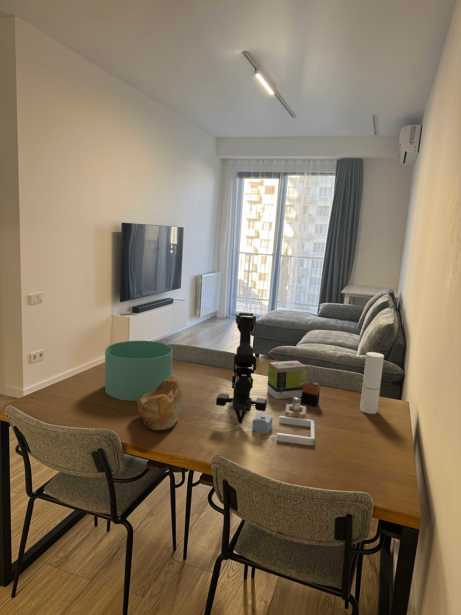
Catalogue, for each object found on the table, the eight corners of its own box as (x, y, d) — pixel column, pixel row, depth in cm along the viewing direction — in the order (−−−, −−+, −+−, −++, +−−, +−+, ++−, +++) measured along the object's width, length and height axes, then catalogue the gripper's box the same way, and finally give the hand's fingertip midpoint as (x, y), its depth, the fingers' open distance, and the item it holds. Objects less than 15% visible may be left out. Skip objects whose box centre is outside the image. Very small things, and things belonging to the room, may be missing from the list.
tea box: (295, 389, 203) (297, 359, 200) (305, 397, 193) (308, 366, 191) (266, 391, 198) (268, 361, 195) (275, 399, 188) (277, 368, 186)
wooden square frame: (284, 421, 167) (285, 411, 167) (285, 413, 175) (286, 403, 174) (305, 423, 166) (305, 414, 165) (305, 415, 174) (305, 406, 173)
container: (184, 387, 197) (186, 348, 194) (139, 407, 173) (140, 363, 169) (138, 373, 213) (139, 337, 210) (90, 389, 188) (90, 349, 185)
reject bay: (276, 440, 151) (277, 434, 151) (279, 421, 167) (279, 415, 166) (313, 445, 149) (314, 439, 148) (313, 426, 164) (313, 420, 164)
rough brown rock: (149, 406, 176) (147, 372, 173) (188, 408, 172) (186, 374, 169) (125, 433, 153) (121, 394, 150) (168, 436, 150) (165, 397, 147)
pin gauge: (290, 418, 169) (292, 399, 168) (291, 414, 172) (292, 396, 171) (298, 419, 168) (300, 400, 167) (299, 415, 172) (300, 397, 170)
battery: (315, 407, 182) (317, 385, 181) (300, 403, 186) (302, 382, 184) (318, 404, 186) (321, 382, 184) (304, 400, 189) (306, 379, 188)
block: (252, 430, 158) (252, 419, 157) (256, 424, 164) (257, 413, 163) (267, 434, 156) (268, 422, 155) (271, 427, 162) (272, 416, 161)
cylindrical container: (377, 409, 185) (384, 354, 180) (376, 415, 178) (383, 358, 174) (361, 405, 188) (367, 351, 183) (358, 411, 181) (365, 355, 177)
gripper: (213, 388, 152) (211, 429, 155) (265, 395, 149) (262, 436, 152) (220, 378, 163) (218, 416, 166) (268, 384, 160) (265, 422, 162)
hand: (240, 423), depth 161 cm, fingers closed
